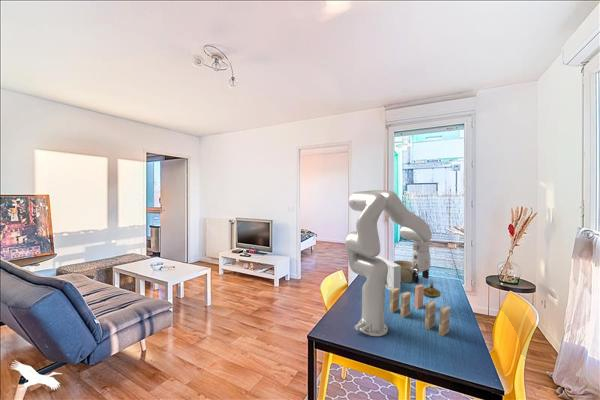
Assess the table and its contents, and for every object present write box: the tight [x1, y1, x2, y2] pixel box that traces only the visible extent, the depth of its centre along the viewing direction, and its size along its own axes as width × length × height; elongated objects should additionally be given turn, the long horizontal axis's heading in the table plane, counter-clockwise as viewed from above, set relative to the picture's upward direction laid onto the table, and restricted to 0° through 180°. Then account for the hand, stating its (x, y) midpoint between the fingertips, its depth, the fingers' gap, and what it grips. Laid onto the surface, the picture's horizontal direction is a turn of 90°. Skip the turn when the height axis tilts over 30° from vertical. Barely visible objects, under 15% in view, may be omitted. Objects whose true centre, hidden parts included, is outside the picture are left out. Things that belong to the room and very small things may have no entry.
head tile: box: [389, 288, 400, 314], centre depth 129 cm, size 2×5×11 cm, turn 126°
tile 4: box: [438, 305, 451, 337], centre depth 110 cm, size 2×5×11 cm, turn 126°
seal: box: [423, 282, 441, 299], centre depth 151 cm, size 9×5×15 cm
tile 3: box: [424, 300, 437, 330], centre depth 115 cm, size 2×5×11 cm, turn 126°
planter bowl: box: [393, 260, 417, 284], centre depth 170 cm, size 16×16×11 cm
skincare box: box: [376, 255, 402, 293], centre depth 161 cm, size 21×6×16 cm, turn 17°
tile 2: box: [414, 283, 425, 310], centre depth 133 cm, size 2×5×11 cm, turn 126°
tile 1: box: [400, 291, 411, 318], centre depth 124 cm, size 2×5×11 cm, turn 126°
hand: (420, 280), depth 133 cm, fingers open, 9 cm apart
